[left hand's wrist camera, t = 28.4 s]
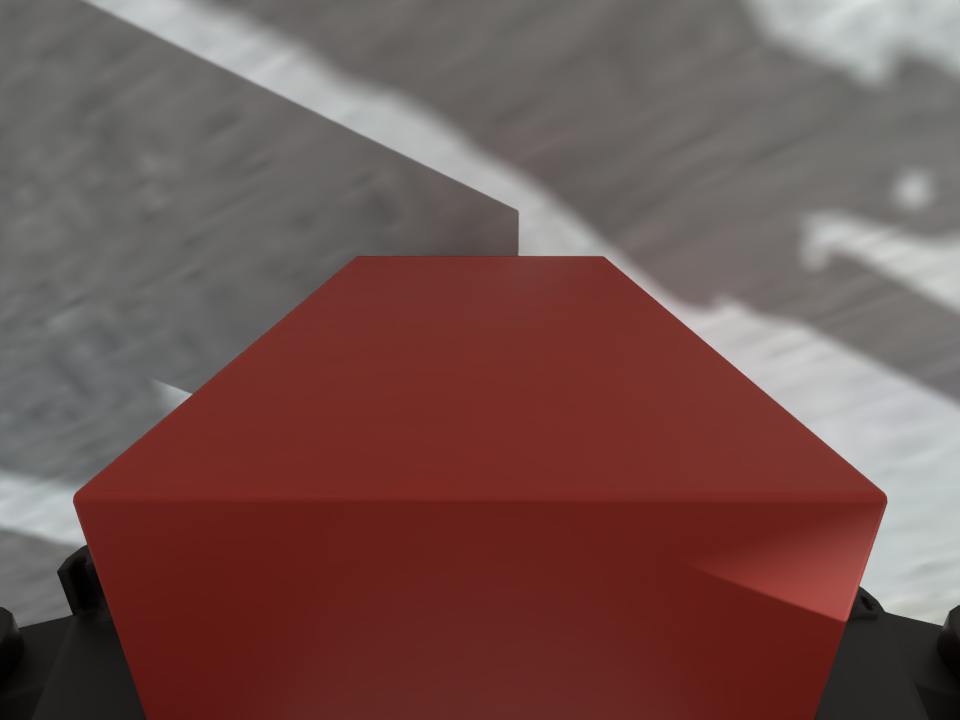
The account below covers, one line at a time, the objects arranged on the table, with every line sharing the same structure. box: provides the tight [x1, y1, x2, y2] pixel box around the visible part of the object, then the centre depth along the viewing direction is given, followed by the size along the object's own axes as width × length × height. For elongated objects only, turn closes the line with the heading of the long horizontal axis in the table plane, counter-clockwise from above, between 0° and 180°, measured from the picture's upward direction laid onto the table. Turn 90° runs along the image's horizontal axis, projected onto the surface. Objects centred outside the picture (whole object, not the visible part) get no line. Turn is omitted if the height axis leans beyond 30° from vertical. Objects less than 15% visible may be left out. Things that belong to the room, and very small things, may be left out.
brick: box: [73, 256, 887, 720], centre depth 12 cm, size 7×9×12 cm
